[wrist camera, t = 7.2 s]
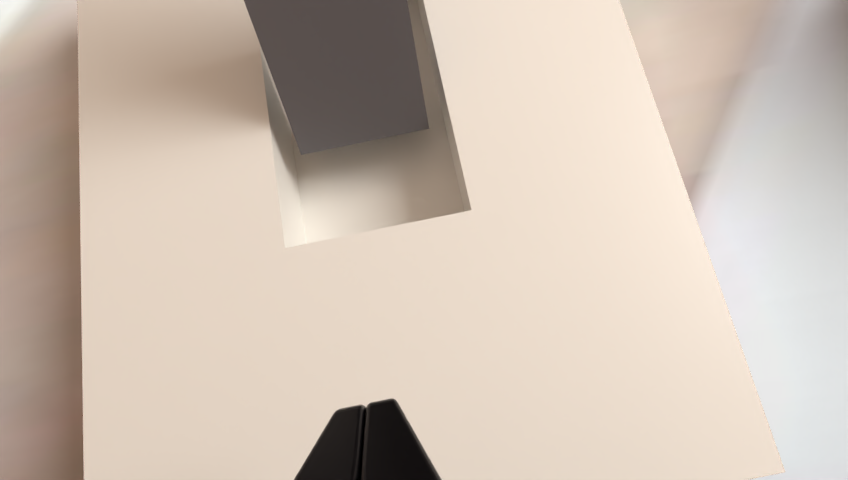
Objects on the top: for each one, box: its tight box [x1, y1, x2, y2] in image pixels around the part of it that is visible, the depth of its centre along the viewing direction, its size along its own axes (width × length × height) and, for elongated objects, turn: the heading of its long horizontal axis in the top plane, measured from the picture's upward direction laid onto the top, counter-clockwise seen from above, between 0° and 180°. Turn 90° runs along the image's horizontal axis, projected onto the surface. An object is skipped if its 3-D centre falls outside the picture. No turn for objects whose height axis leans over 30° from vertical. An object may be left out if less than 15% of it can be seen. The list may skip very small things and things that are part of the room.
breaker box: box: [77, 0, 785, 480], centre depth 17 cm, size 20×16×4 cm
